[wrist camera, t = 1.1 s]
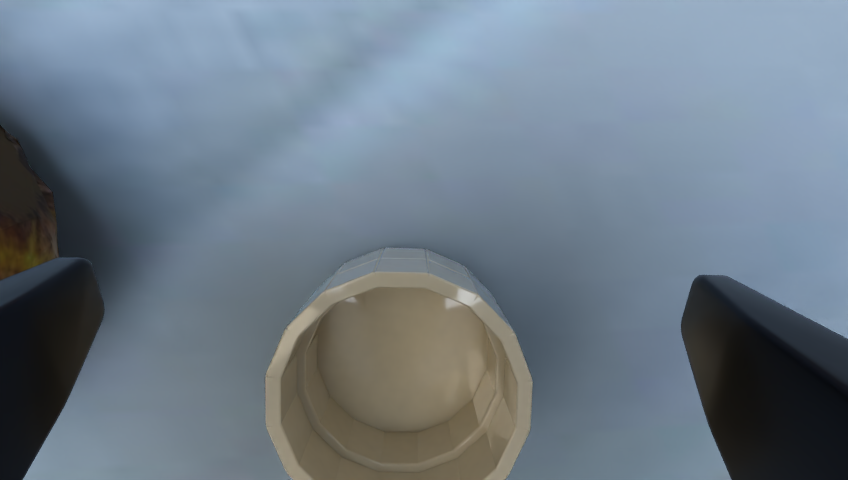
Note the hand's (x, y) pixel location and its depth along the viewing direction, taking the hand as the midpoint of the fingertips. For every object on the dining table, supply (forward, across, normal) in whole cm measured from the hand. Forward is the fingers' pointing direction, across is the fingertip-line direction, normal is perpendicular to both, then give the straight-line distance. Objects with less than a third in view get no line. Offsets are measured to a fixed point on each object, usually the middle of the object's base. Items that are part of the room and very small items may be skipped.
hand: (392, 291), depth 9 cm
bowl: (+8, 0, +8) cm, 12 cm away
